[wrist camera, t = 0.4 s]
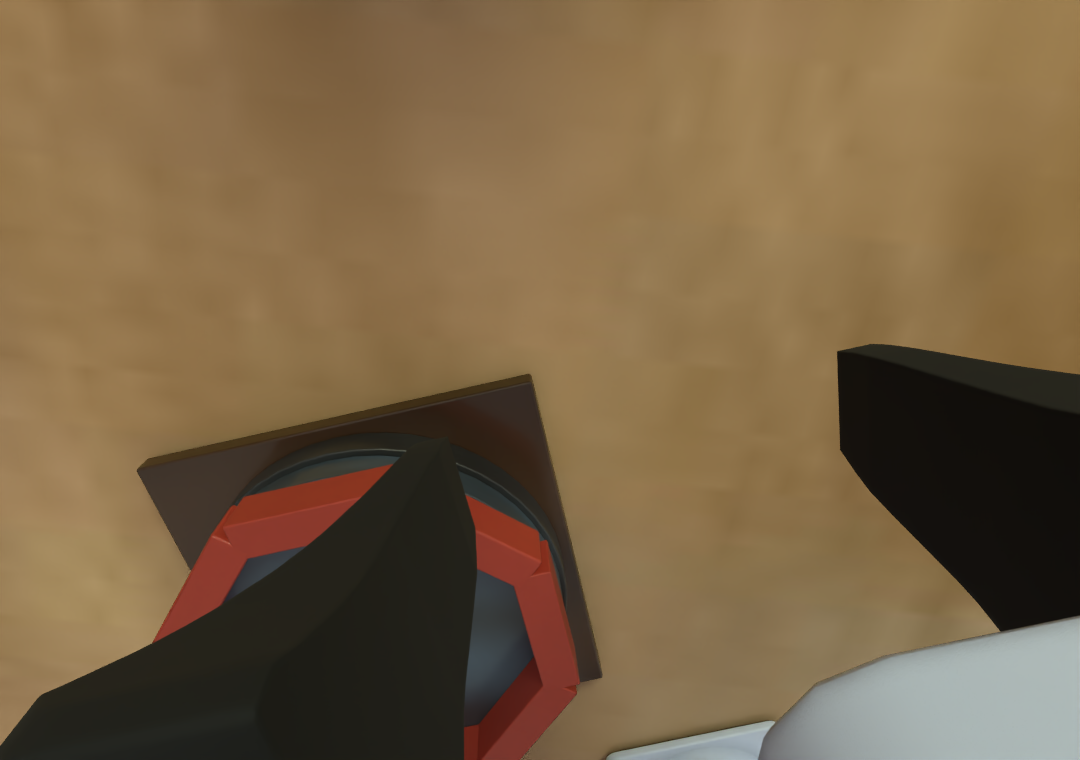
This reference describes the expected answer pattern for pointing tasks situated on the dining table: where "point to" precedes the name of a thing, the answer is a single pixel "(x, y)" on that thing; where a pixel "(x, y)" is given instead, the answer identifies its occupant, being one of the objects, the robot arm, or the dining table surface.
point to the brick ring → (500, 554)
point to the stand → (381, 439)
